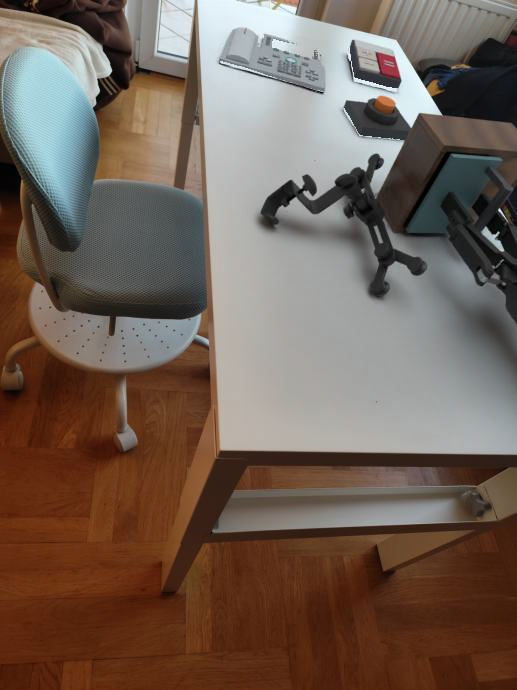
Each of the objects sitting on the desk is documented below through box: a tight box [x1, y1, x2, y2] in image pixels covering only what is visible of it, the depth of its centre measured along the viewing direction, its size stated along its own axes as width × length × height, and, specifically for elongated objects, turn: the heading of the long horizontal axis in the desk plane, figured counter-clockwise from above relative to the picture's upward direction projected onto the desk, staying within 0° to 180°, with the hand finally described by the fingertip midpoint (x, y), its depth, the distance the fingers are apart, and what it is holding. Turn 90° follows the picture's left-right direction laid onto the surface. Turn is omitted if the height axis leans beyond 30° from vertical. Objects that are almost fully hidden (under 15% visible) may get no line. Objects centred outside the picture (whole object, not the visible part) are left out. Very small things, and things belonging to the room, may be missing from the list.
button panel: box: [349, 39, 402, 89], centre depth 117 cm, size 11×4×15 cm
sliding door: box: [406, 154, 514, 235], centre depth 74 cm, size 9×7×14 cm
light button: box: [374, 95, 397, 114], centre depth 99 cm, size 4×4×2 cm
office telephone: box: [218, 27, 327, 93], centre depth 109 cm, size 23×3×20 cm
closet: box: [375, 112, 517, 234], centre depth 80 cm, size 18×8×16 cm, turn 104°
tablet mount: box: [260, 152, 428, 297], centre depth 73 cm, size 27×14×17 cm
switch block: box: [343, 97, 412, 141], centre depth 101 cm, size 12×10×4 cm
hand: (462, 200), depth 76 cm, fingers closed on sliding door, 5 cm apart
